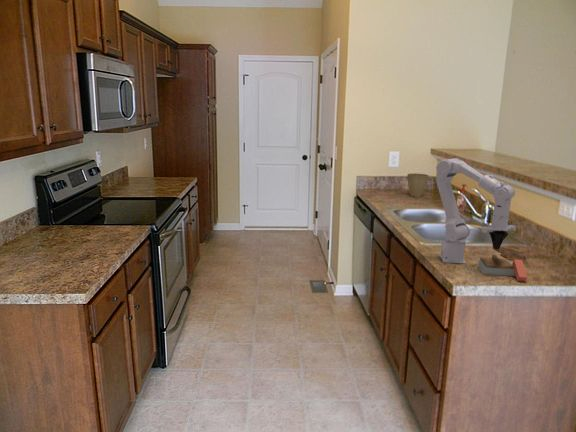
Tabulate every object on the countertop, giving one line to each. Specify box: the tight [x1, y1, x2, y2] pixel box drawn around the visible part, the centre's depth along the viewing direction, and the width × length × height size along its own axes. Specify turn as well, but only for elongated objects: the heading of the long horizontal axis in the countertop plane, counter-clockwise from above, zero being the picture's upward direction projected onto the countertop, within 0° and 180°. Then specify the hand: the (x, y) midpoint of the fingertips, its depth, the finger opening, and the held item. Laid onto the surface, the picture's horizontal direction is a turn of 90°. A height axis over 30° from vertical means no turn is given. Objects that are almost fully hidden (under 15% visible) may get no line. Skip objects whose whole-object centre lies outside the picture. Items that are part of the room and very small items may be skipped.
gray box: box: [477, 259, 516, 277], centre depth 184 cm, size 14×9×3 cm, turn 83°
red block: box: [512, 259, 529, 282], centre depth 177 cm, size 3×9×3 cm
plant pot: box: [407, 172, 430, 198], centre depth 333 cm, size 15×15×16 cm
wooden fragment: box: [492, 245, 530, 266], centre depth 205 cm, size 26×11×1 cm, turn 177°
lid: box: [479, 254, 513, 269], centre depth 183 cm, size 10×9×2 cm
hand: (495, 248), depth 182 cm, fingers closed
